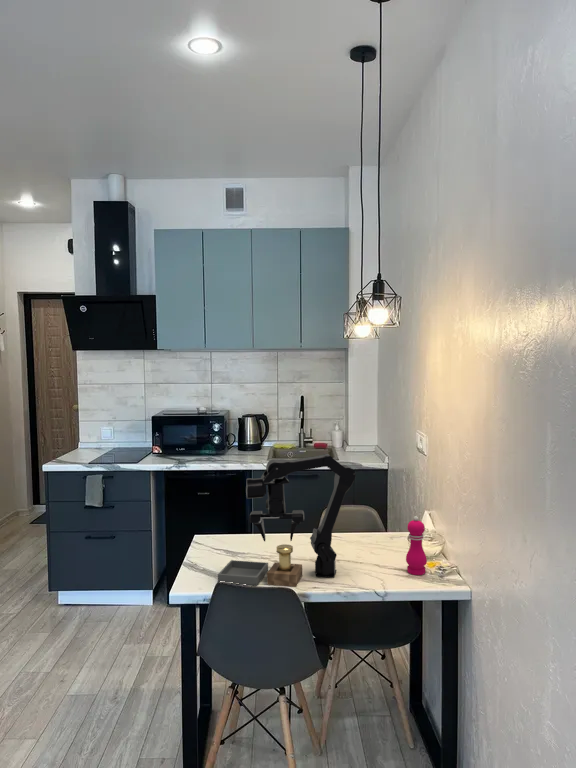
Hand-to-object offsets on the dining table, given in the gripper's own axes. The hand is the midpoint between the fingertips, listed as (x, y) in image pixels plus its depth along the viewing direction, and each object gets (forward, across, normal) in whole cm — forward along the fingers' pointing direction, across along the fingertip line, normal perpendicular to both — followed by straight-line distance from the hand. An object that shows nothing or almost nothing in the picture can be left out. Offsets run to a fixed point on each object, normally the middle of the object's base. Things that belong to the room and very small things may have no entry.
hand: (277, 540), depth 192 cm
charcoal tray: (+13, +13, 0) cm, 18 cm away
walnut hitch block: (+13, -2, +2) cm, 13 cm away
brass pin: (+13, -2, +2) cm, 13 cm away
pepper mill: (+14, -48, -7) cm, 51 cm away
